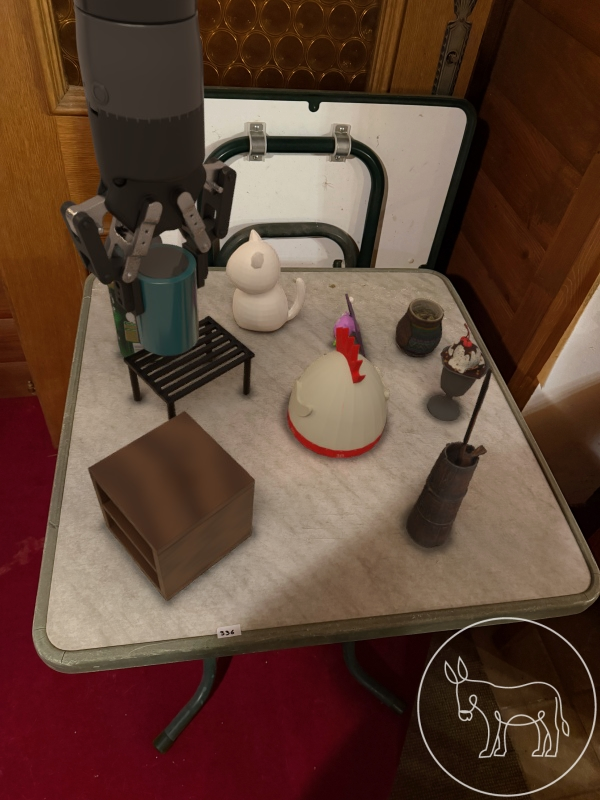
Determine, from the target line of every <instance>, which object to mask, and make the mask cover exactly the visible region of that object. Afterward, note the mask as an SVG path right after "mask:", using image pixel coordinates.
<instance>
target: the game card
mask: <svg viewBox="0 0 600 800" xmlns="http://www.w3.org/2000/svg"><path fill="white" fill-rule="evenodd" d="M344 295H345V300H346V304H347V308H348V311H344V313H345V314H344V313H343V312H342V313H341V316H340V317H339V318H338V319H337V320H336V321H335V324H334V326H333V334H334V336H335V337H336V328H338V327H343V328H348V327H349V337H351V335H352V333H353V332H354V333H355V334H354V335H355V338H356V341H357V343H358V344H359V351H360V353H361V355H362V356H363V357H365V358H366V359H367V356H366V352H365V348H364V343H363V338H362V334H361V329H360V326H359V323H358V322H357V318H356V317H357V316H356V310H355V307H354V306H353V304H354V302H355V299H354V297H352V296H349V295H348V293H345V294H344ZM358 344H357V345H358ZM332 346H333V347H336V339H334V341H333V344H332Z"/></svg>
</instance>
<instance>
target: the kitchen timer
mask: <svg viewBox="0 0 600 800" xmlns="http://www.w3.org/2000/svg"><path fill="white" fill-rule="evenodd" d="M355 338H356V335H355V336H349V327H348V328H343V327H338V328H336V336H335V340H336V345H335V350H333V351H330V352H328V353H324V354H323V355H321V356H319V357H318V358H317V359H315V360H314V361H313V362H312V363H310V364H309V365H308V366H307V367H306V368H305V369H304V371H303V373H302V374H301V376H300V377H299V379H297V378H295V379H294V381H293V384H292V389H291V393H290V395H289V400H288V406H287V414H286V418H287V423H288V428H289V429H290V431H291V433H292V435H293V436H294V438H295V439H296V440H297V441H298V442H299V443H300V444H301V445H303V446H304V447H305V448H307V449H308V450H310V451H312V452H314V453H316V454H318V455H321V456H324V457H328V458H332V459H333V458H337V459H348V458H354V457H358V456H362V455H363V454H365V453H366V452H369V451H370V450H372V449H373V448H374V447H375V446H376V445H377V444H378V443H379V441H380V440H381V437H382V435H383V432H384V431H385V426H386V424H387V411H388V409H387V404H388V403H387V401H389V400H390V397H391V396H390V395H391V392H390V389H389V388H388V386H387V385H386V383H385V380H384V378H383V374H382V372H381V370H380V368H379V367H378V366H377V365H374V364H373V363H372V362H371V361H370V360H368V359H367V357H366V358H365V357H363V356H362V354H360V353H359V351H360V347H359V344H355Z"/></svg>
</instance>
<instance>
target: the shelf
mask: <svg viewBox="0 0 600 800" xmlns="http://www.w3.org/2000/svg"><path fill="white" fill-rule="evenodd" d="M87 471H88V473H89V477H90V480H91V483H92V486H93V489H94V492H95V495H96V498H97V501H98V505H99V508H100V511H101V514H102V517H103V520H104V523H105V526H106V528H107V529H108V530H109V531H110V532H111V535H113V536H114V538H115V539H116V540H117V542H118V543H119V544H120V545H121V546H122V548H123V549H124V550H125V552H126V553H127V554H128V555H129V557H130V558H131V559H132V561H134V562H135V564H136V565H137V567H138V568H139V569H140V570H141V571H142V573H143V574H144V575H145V577H146V578H147V579H148V580H149V581H150V583H151V584H152V585H153V586H154V588H155V589H156V590H157V591H158V593H159V594H160V595H161V596H162V598H163V599H164V600H165V601H166V602H169V601H170V600H171V599H172V598H174V597H175V596H176V595H177V594H178V593H179V592H181V591H182V590H184V589H185V588H186V587H188V586H189V585H190V584H191V583H193V582H194V581H195V580H196V579H198V578H199V577H200V576H201V575H202V574H204V573H205V572H206V571H208V570H209V569H210V568H211V567H213V566H214V565H216V564H217V563H218V562H219V561H220V560H222V559H223V558H224V557H226V555H228V554H229V553H230V552H232V551H233V550H234V549H236V548H237V547H239V545H240V544H242V543H243V542H244V541H246V540H247V539H248V538H249V537H251V536H252V528H253V516H254V515H253V514H254V513H253V512H254V498H255V486H256V485H255V484H256V479H255V478H254V477H253V476H252V475H251V474H250V473H249V472H248V471H247V470H246V469H245V468H244V467H243V466H242V465H241V464H240V463H239V462H238V461H237V460H236V459H235V458H233V456H232V455H231V454H230V453H229V452H228V451H227V450H226V449H224V448H223V447H222V446H221V444H219V442H217V440H215V439H214V438H213V436H212V435H210V433H208V432H207V431H206V430H205V429H204V428H203V427H202V426H201V425H200V424H199V423H198V422H197V421H196V420H195V418H193V417H192V416H191V415H190V414H189V413H188V412H187V411H185V410H183V411H182V412H180V413H179V414H176V416H175V417H173V418H172V419H170V420H167V421H165V422H163V423H161V424H159V425H158V426H156V427H154V428H153V429H151V430H150V431H148V432H146V433H145V434H143V435H142V436H139V437H137V438H136V439H134V440H133V441H131V442H130V443H128V444H126V445H124V446H123V447H121V448H119V449H118V450H116V451H114V452H112V453H111V454H109V455H107V456H106V457H104V458H102V459H100V460H99V461H97V462H96V463H94V464H92V465H91V466H88V468H87Z"/></svg>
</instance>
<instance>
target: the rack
mask: <svg viewBox="0 0 600 800" xmlns="http://www.w3.org/2000/svg"><path fill="white" fill-rule="evenodd" d="M230 350H231V351H230ZM150 353H151V352H149V351H147V350H145V349H142V350H140V351H138V352H136V353H134V354H132V355H130V356H127V357H125V358H124V357H122V360H123V363H125V364H126V365H127V368H128V375H129V380H130V386H131V390H132V396H133V400H134V402H136V403H139V402H141V401H142V394H141V388H140V383H139V378H140V379H141V380H142V381H143V382H144V383H145V384H146V385H147V386H148V387H149V388H150V389H151V390H152V391H153V392H154V393H155V394H156V395H157V396H158V397H159V398H160V399H161V400H162V401H163V402H164V403H165V404H166V411H167V419H168V420H170V419H172V418H173V417H175V416H177V414H176V413H177V412H176V402H178V401H179V400H181V399H183V398H185V397H186V396H189V395H190V394H192V393H193V392H195V391H196V390H199V389H200V388H202V387H204V386H206V385H208V384H209V383H211V382H212V381H214V380H216V379H217V378H219V377H222V376H223V375H224V374H226V373H229V372H230V371H232V370H233V369H235V368H237V367H238V366H241V365H242V364H243V376H242V377H243V378H242V394H243V395H244V396H248V395H250V393H251V375H252V359H255V357H256V352H254V351H252V350H251V349H250V348H249V347H248V346H247V345H245V344H244V343H243V342H241V340H239V339H238V338H237V337H236V336H234V334H232V333H231V332H229V330H227V328H225V327H224V326H222V324H220V323H219V322H218V321H216V320H215V319H214V318H213V317H212V316H210V315H207V316H205V317H203V318H202V319H199V339H198V341H197V343H196V344H195V345H194V346H193V347H192V348H191V349H190V350H188V351H186V352H184V353H181V354H178V355H172V356H166V357H164V358H162V359H160V360H158V361H156V362H153V361H155V360H157V359H159V358H161V357H163V356H162V355H157V354H151V355H149V356H147V357H145V358H143V359H141V360H139V361H137V362H135V361H136V360H138V359H140V358H142V357H144V356H146V355H148V354H150ZM223 354H224V355H223ZM241 354H242V355H241ZM201 356H202V357H201ZM220 356H221V357H220ZM234 358H235V359H234ZM229 361H230V362H229ZM227 362H228V363H227ZM218 367H219V368H218ZM211 371H212V372H211ZM207 373H208V374H207ZM200 377H201V378H200ZM199 378H200V379H199ZM197 379H198V380H197ZM193 381H194V382H193ZM192 382H193V383H192ZM188 384H189V385H188ZM184 386H185V387H184ZM183 387H184V388H183ZM181 388H182V389H181ZM179 389H180V390H179ZM177 390H178V391H177ZM172 393H173V394H172ZM170 394H171V395H170ZM168 420H167V421H168Z"/></svg>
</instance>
